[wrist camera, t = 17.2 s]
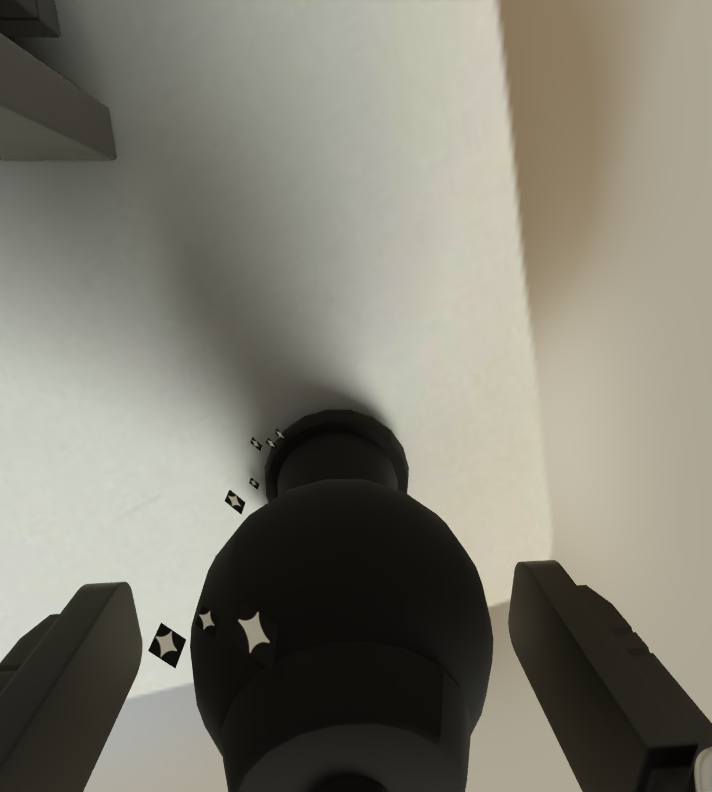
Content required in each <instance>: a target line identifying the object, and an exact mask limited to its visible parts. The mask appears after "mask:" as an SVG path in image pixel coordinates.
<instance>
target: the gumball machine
mask: <svg viewBox="0 0 712 792" xmlns="http://www.w3.org/2000/svg"><path fill="white" fill-rule="evenodd" d="M275 434H276V435H277V436H278V437H279V438H278V439H277V441H276V442H275V443H274V442H273V441H272V440H271V439H270V438H268V437H267V440H266V443H267V444H268V445H269V446H270V447H271V450H270V453H269V456H268V459H267V462H266V465H265V484H266V496H267V499H268V502H269V503H268V504H266V505H264V506H263V507H261V508H260V509H258V510H257V511H255V512H254V513H252V514H250V515H249V516H248V517H247V518H246V520H245V521H244V522H243V523H242V524H241V525H240V527H239V528H238V529H237V530H236V532H235V533H234V534H233V535H232V537H231V538H230V539H229V540H228V542H227V543H226V544H225V545H224V547H223V548H222V549H221V550H220V552H219V553H218V554H217V555H216V557H215V559H214V561H213V563H212V565H211V567H210V569H209V570H208V573H207V577H206V580H205V583H204V586H203V589H202V592H201V596H200V599H199V602H198V605H197V608H196V612H195V616H194V619H193V623H192V627H191V643H190V650H191V660H192V669H193V678H194V686H195V693H196V701H197V706H198V709H199V712H200V714H201V717H202V720H203V722H204V725H205V727H206V729H207V731H208V732H209V734H210V736H211V738H212V739H213V741H214V743H215V745H216V746H217V748H218V750H219V751H220V753H221V755H222V756H223V763H224V768H225V774H226V780H227V786H228V792H465V788H466V782H467V773H468V760H469V748H470V736H471V734H472V732H473V730H474V728H475V726H476V724H477V722H478V720H479V718H480V716H481V713H482V709H483V705H484V701H485V698H486V693H487V688H488V682H489V676H490V670H491V664H492V654H493V634H492V627H491V621H490V616H489V611H488V607H487V603H486V599H485V594H484V590H483V586H482V583H481V580H480V577H479V574H478V571H477V569H476V566H475V565H474V563H473V562H472V560H471V558H470V557H469V555H468V553H467V552H466V551H465V549H464V548H463V546H462V545H461V544H460V542H459V541H458V539H457V538H456V537H455V535H454V534H453V532H452V531H451V530H450V528H449V527H448V526H447V524H446V523H445V522H444V521H443V520H442V519H441V518H440V517H439V516H438V515H437V514H435V513H434V512H432V511H431V510H430V509H428V508H427V507H425V506H424V505H422V504H421V503H419V502H418V501H416V500H415V499H413V498H412V497H411V496H409V495H408V494H407V488H408V470H409V467H408V464H407V460H406V456H405V453H404V449H403V447H402V445H401V444H400V443H399V441H398V440H397V438H396V437H395V436H394V434H393V433H392V431H391V430H389V429H388V428H387V427H385V426H384V425H383V424H381V423H380V422H378V421H377V420H376V419H374V418H373V417H370V416H367V415H364V414H360V413H357V412H354V411H351V410H326V411H322V412H319V413H315V414H312V415H308V416H305V417H303V418H302V419H300V420H299V421H297V422H296V423H294V424H293V425H291V426H290V427H288V428H287V429H285V430H284V432H283V433H281V432H280V431H279V430H278V429H276V432H275ZM250 443H251V444H252V445H254V446H255V447H256V448H257V449H258V450H259V451H261V448H262V445H261V444H260V443H259V442H258V441H256V440H255V439H254V438H253V437H252V440H251V442H250ZM249 483H250V484H251V485H252V486H254V487H255V488H256V489H257V490H258V486H259V483H257V482H256V481H255V480H254V479H253V478H251V479H250V482H249ZM225 502H227V503H228V504H229V505H230V506H231V507H233V508H234V509H235V510H236V511H238V512H239V513H240V514H242V511H243V508H244V505H245V502H244V501H243V500H242V499H240V498H239V497H238V496H237V495H236V494H234V493H233V492H232V491H231V490H229V492H228V495H227V497H226V499H225ZM185 641H186V639H184V638H183V637H181V636H180V635H178V634H177V633H175V632H174V631H172V630H171V629H170V628H168V627H167V626H165V625H164V624H162V623H161V624H160V626H159V629H158V631H157V633H156V635H155V637H154V639H153V642H152V644H151V646H150V648H149V650H148V651H149V652H151V653H152V654H154V655H155V656H157V657H159V658H160V659H162V660H163V661H165V662H166V663H168V664H169V665H171V666H173V667H174V668H176V665H177V663H178V660H179V657H180V655H181V652H182V649H183V647H184V644H185Z"/></svg>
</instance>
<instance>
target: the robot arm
mask: <svg viewBox="0 0 712 792" xmlns="http://www.w3.org/2000/svg"><path fill="white" fill-rule="evenodd" d="M508 621H509V622H508V624H509V633H510V638H511V641H512V645H513V648H514V650H515V653H516V655H517V657H518V659H519V661H520V663H521V665H522V667H523V669H524V671H525V674H526V676H527V678H528V680H529V682H530V684H531V686H532V688H533V690H534V692H535V694H536V696H537V698H538V700H539V703H540V704H541V707H542V708H543V711H544V713H545V715H546V717H547V719H548V721H549V723H550V725H551V727H552V729H553V731H554V733H555V736H556V738H557V740H558V742H559V744H560V746H561V748H562V750H563V752H564V754H565V756H566V758H567V760H568V762H569V765H570V767H571V769H572V771H573V772H574V775H575V777H576V779H577V781H578V783H579V785H580V787H581V789H582V791H583V792H712V723H711V722H710V721H709V720H708V718H707V717H706V716H705V715H704V714H703V713H702V711H701V710H700V709H699V708H698V706H697V705H696V704H695V703H694V702H693V700H692V699H691V698H690V697H689V696H688V695H687V693H686V692H685V691H684V690H683V689H682V687H681V686H680V685H679V684H678V683H677V681H676V680H675V679H674V678H673V677H672V675H671V674H670V673H669V672H668V671H667V669H666V668H665V667H664V666H663V665H662V663H661V662H660V661H659V660H658V659H657V657H656V656H655V655H654V654H653V653H650V652H649V649H648V647H647V645H646V644H645V643H644V642H643V641H642V639H641V638H640V637H639V636H638V635H637V633H636V632H634V633H633V631H632V628H631V626H630V625H629V624H628V623H627V621H626V620H625V619H624V618H623V617H622V616H621V614H620V613H619V612H618V611H617V609H616V608H615V607H614V606H613V605H612V604H611V603H610V602H608V601H607V600H606V599H604V598H603V597H602V596H600V595H599V594H598V593H596V592H595V591H593V590H592V589H591V588H589V587H588V586H587V585H579V586H577V585H576V584H575V583H574V582H573V580H572V579H571V578H570V576H569V575H568V574H567V573H566V571H565V570H564V569H563V567H562V566H561V565H560V564H559V563H558V562H556V561H555V560H546V561H527V562H518V563H517V565H516V567H515V571H514V579H513V587H512V595H511V602H510V611H509V620H508ZM141 656H142V637H141V633H140V628H139V623H138V618H137V614H136V609H135V604H134V599H133V595H132V590H131V587H130V585H129V584H128V583H127V582H115V583H96V584H85V585H84V586H82V587H81V588H80V589H79V590H78V591H77V592H76V594H75V595H74V596H73V598H72V599H71V600H70V602H69V603H68V604H67V606H66V607H65V608H64V609H63V611H62V612H61V613H60V614H54V615H49V616H48V617H47V618H46V619H44V620H43V621H42V622H41V623H39V624H38V625H37V626H35V627H34V628H33V629H32V630H30V631H29V632H28V633H27V634H25V635H24V636H23V637H22V638H20V639H19V641H18V642H17V643H16V644H15V646H14V647H13V648H12V649H11V650H10V652H9V653H8V654H7V655H6V657H5V658H4V659H3V660H2V662H1V663H0V792H83V791H84V788H85V786H86V784H87V782H88V780H89V778H90V775H91V773H92V771H93V769H94V767H95V765H96V762H97V760H98V758H99V756H100V754H101V751H102V749H103V747H104V745H105V743H106V741H107V738H108V736H109V734H110V732H111V730H112V727H113V725H114V723H115V721H116V719H117V717H118V714H119V712H120V710H121V708H122V706H123V704H124V702H125V699H126V697H127V695H128V693H129V691H130V689H131V686H132V684H133V682H134V680H135V678H136V675H137V673H138V670H139V666H140V662H141Z"/></svg>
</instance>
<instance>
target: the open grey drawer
mask: <svg viewBox="0 0 712 792" xmlns="http://www.w3.org/2000/svg"><path fill="white" fill-rule="evenodd" d="M7 37H54V38H60V37H61V33H60V28H59V23H58V17H57V12H56V6H55V1H54V0H0V161H114V160H116V159H117V155H116V149H115V143H114V137H113V131H112V124H111V118H110V112H109V109H108V108H107V107H106V106H104V105H103V104H101V103H100V102H99V101H97V100H96V99H94V98H93V97H91V96H90V95H89V94H87V93H86V92H84V91H83V90H81V89H80V88H79V87H77V86H76V85H74V84H73V83H71V82H70V81H69V80H67V79H66V78H64V77H63V76H61V75H60V74H58V73H57V72H56V71H54V70H53V69H51V68H50V67H48V66H47V65H46V64H44V63H43V62H41V61H40V60H38V59H37V58H36V57H34V56H33V55H31V54H30V53H28V52H27V51H26V50H24V49H23V48H21V47H20V46H18V45H17V44H15V43H14V42H13V41H11V40H10V39H8V38H7Z"/></svg>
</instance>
